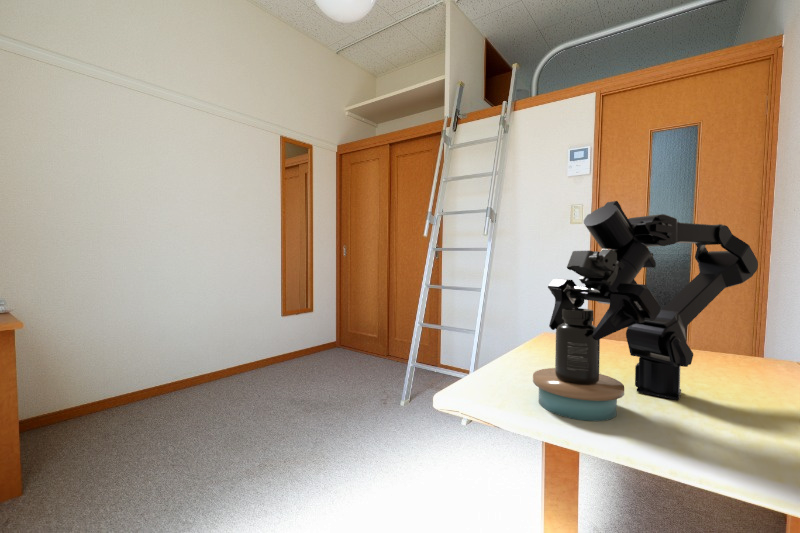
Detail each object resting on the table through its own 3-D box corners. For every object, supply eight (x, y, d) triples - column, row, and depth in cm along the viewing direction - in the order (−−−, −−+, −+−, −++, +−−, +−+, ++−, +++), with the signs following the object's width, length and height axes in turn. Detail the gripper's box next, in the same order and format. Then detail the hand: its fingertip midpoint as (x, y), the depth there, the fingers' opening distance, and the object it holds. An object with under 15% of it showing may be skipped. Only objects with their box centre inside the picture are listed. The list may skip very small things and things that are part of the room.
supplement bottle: (607, 381, 63) (609, 310, 63) (584, 388, 59) (586, 313, 59) (569, 371, 69) (571, 305, 69) (546, 376, 65) (547, 308, 65)
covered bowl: (630, 404, 65) (631, 378, 65) (614, 432, 54) (614, 401, 54) (548, 386, 74) (548, 363, 74) (519, 407, 63) (520, 380, 63)
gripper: (556, 237, 74) (508, 295, 70) (649, 231, 56) (592, 306, 52) (586, 277, 77) (541, 334, 73) (683, 283, 59) (631, 358, 55)
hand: (571, 332), depth 63 cm, fingers open, 9 cm apart
